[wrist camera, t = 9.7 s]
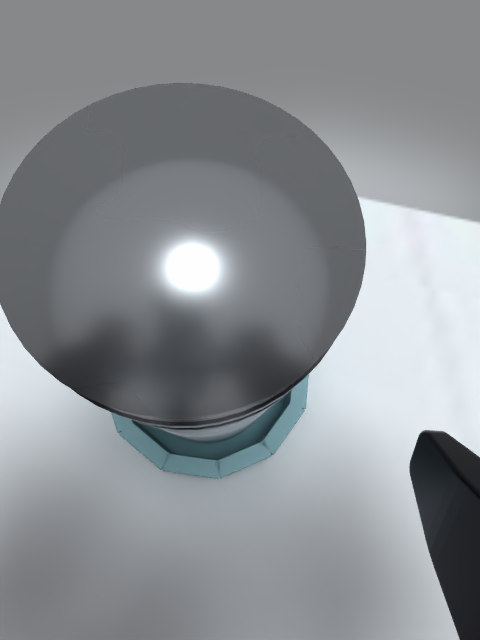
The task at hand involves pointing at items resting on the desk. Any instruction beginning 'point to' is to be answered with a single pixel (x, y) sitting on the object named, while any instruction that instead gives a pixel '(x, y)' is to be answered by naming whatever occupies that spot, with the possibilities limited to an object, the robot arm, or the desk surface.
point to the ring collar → (222, 455)
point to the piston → (181, 256)
